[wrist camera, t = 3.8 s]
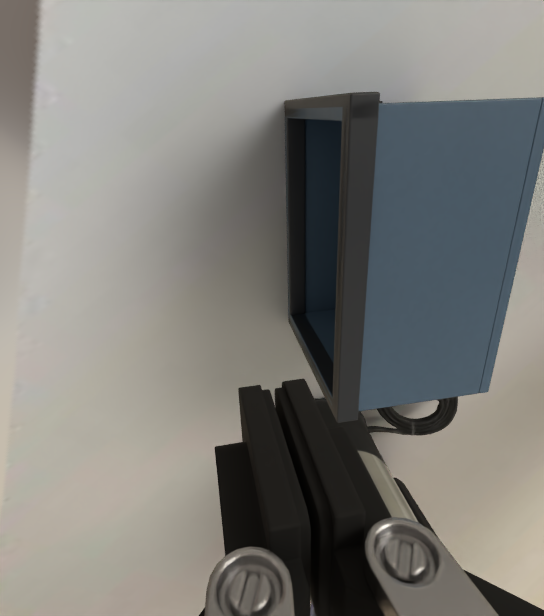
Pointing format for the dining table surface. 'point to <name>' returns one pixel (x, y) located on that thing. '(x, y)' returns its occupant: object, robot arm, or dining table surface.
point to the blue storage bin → (405, 240)
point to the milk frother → (388, 487)
